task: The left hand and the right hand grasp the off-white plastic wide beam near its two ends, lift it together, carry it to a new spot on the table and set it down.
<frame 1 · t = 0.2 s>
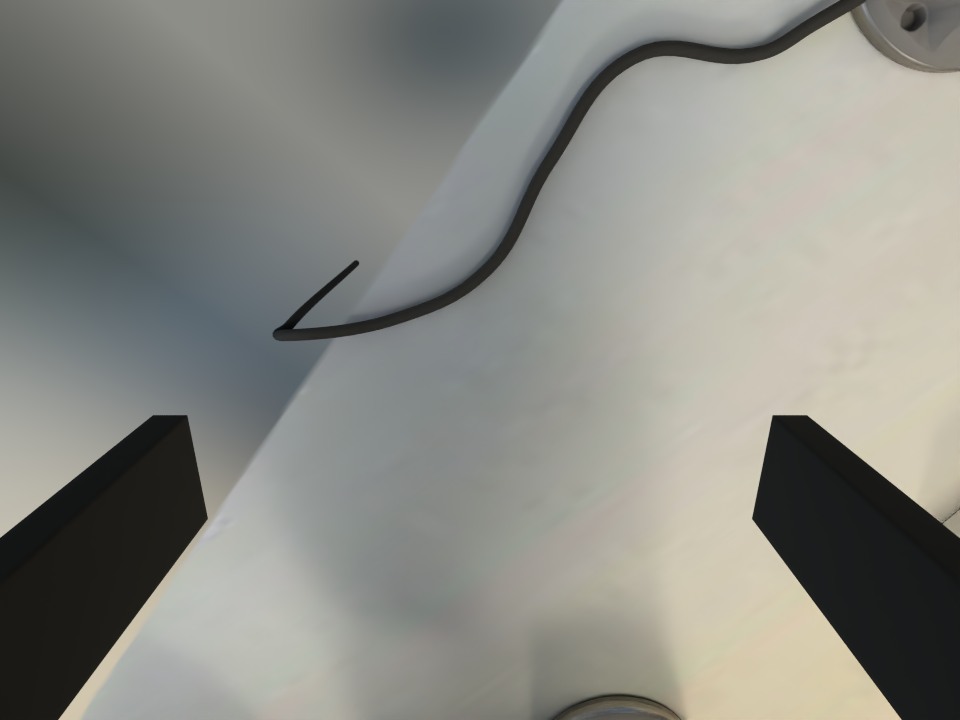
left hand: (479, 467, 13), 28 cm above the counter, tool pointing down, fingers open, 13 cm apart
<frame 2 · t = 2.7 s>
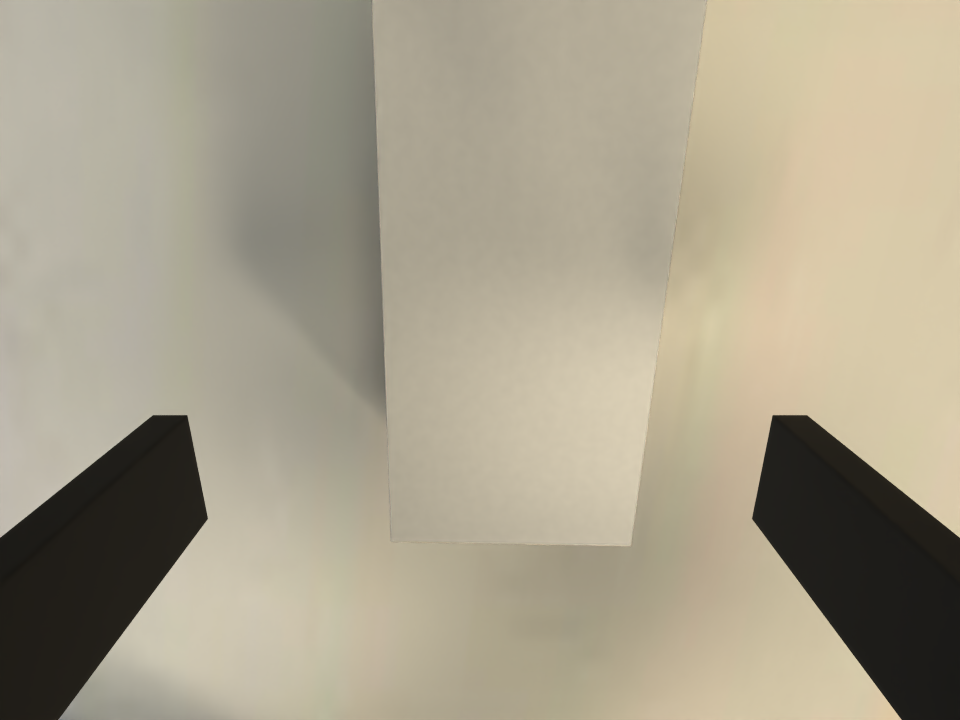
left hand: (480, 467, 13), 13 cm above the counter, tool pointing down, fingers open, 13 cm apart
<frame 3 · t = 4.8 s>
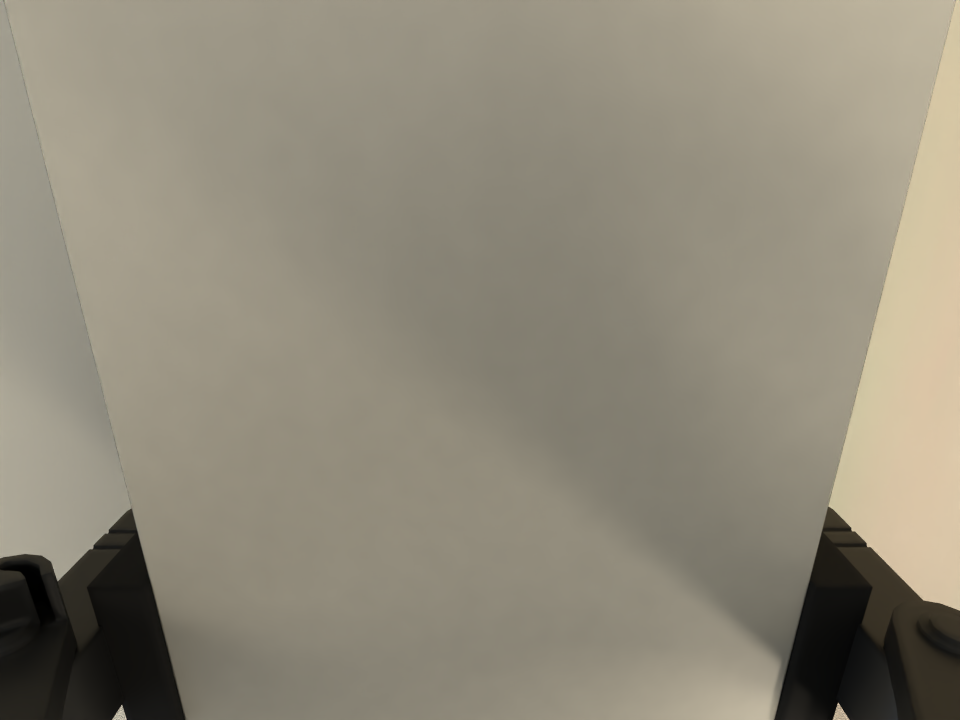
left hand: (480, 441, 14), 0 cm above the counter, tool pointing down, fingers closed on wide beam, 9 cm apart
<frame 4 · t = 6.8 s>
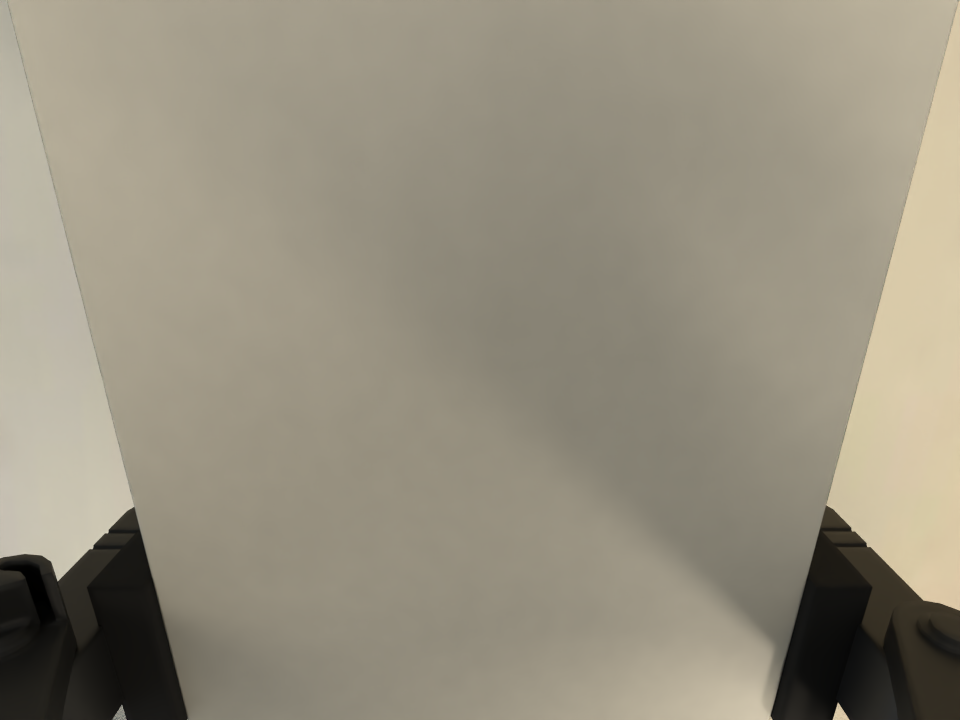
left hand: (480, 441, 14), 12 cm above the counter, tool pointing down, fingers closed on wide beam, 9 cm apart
when the left hand's fingers open (2 cm above the counter, at t = 11.0 s): wide beam stays where it is, on the counter.
when the right hand's fingers open (1 cm above the counter, at t = 11.0 s): wide beam stays where it is, on the counter.
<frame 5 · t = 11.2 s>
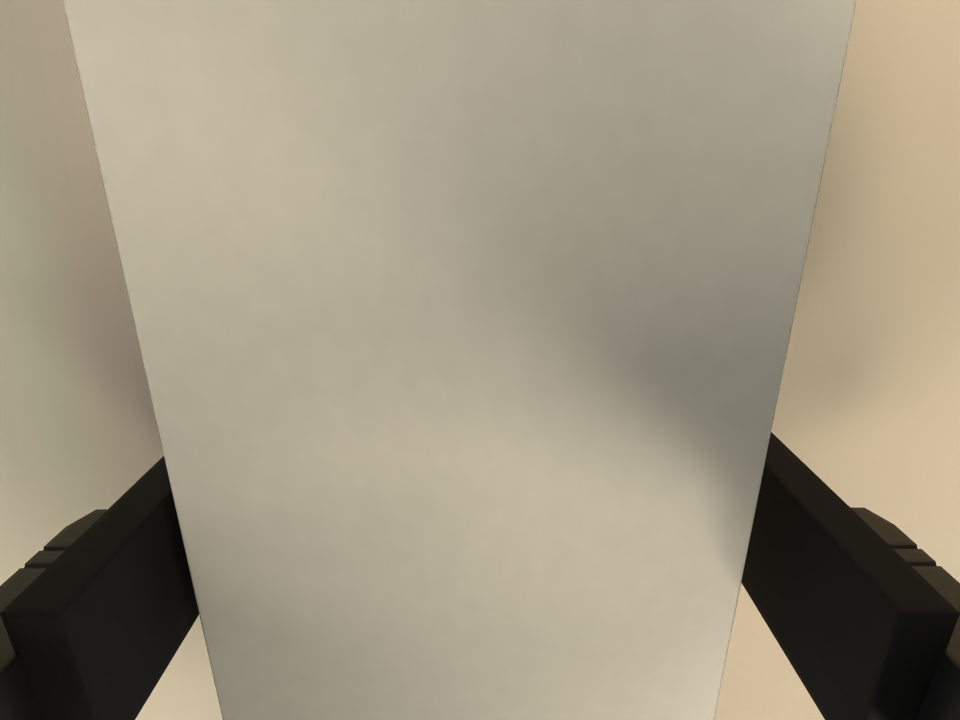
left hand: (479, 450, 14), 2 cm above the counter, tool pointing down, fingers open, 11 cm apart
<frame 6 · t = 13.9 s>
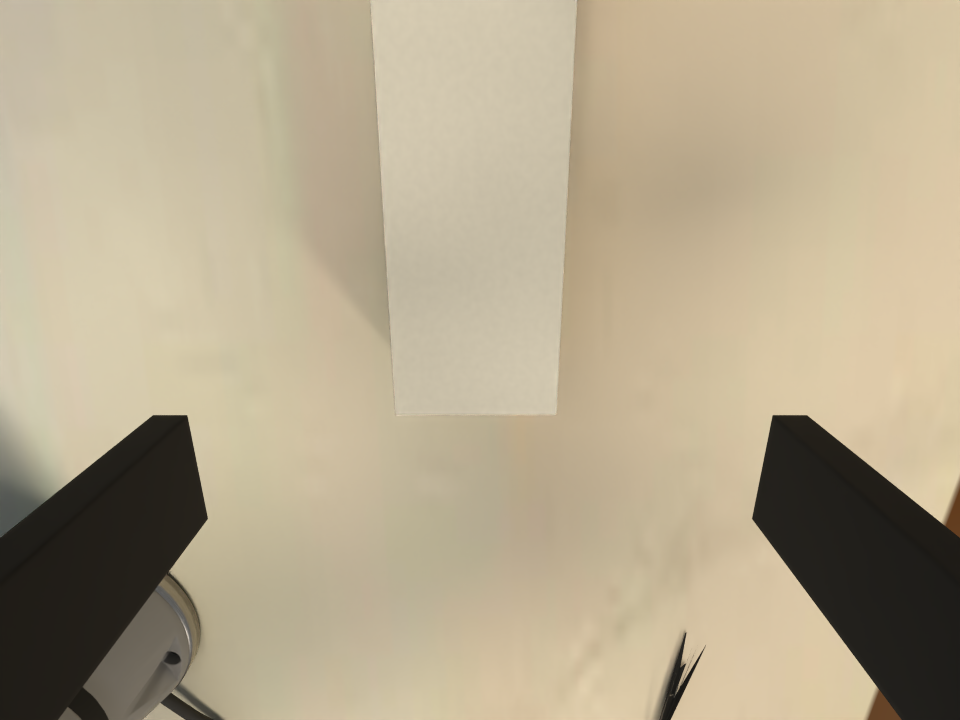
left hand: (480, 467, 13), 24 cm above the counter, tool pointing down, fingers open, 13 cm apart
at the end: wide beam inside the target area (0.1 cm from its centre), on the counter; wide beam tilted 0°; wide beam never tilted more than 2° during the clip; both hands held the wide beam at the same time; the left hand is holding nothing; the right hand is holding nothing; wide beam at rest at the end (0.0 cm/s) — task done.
